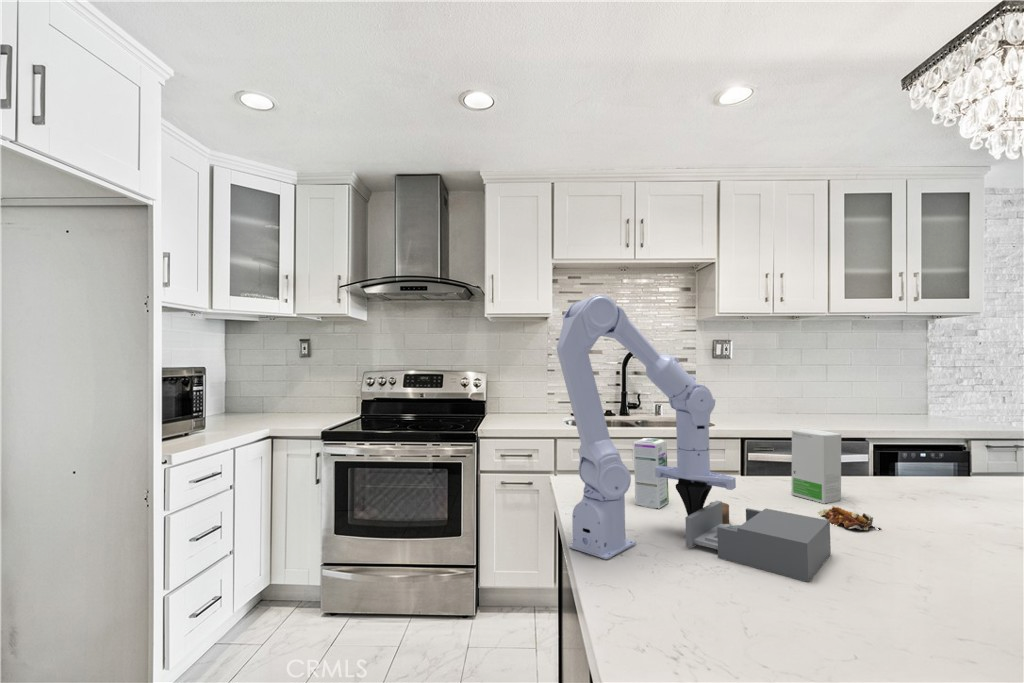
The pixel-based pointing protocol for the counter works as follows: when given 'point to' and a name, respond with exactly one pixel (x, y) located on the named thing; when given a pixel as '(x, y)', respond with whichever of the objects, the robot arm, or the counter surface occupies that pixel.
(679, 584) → the counter surface
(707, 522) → the tray
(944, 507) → the counter surface
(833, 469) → the skincare box
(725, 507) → the stand
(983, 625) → the counter surface
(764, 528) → the housing
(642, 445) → the syrup box
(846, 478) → the counter surface
